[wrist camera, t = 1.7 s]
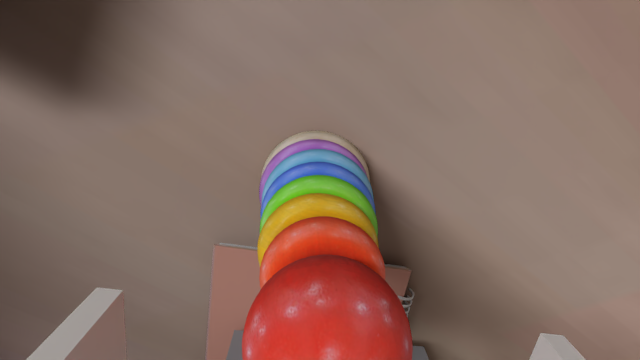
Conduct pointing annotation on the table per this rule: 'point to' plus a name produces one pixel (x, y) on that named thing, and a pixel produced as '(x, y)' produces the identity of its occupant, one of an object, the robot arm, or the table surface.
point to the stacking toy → (321, 260)
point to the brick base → (235, 356)
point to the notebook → (254, 293)
